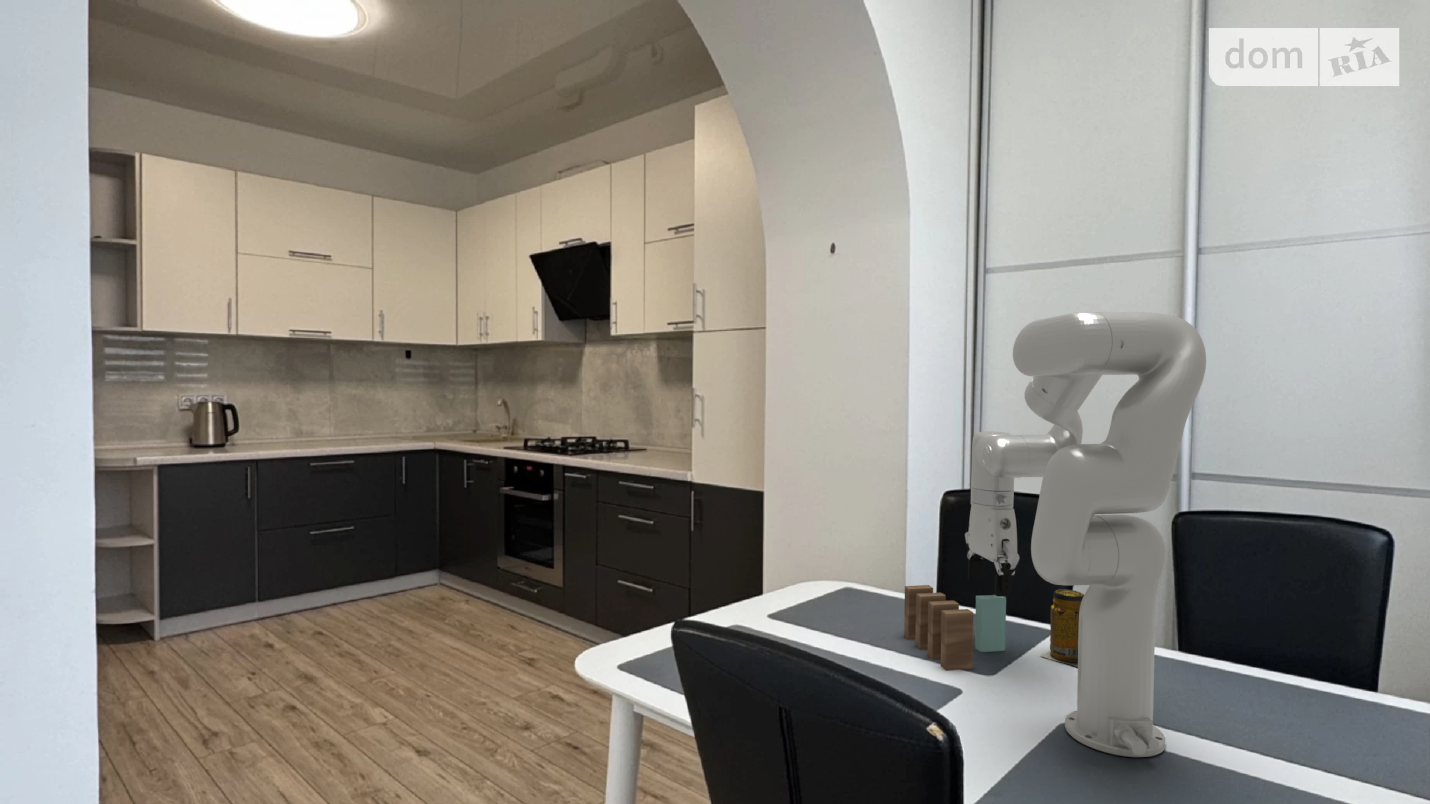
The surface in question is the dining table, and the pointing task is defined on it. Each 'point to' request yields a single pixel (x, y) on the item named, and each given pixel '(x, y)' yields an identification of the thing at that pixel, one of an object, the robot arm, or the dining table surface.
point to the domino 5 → (990, 623)
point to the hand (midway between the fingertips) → (989, 587)
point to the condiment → (1065, 627)
